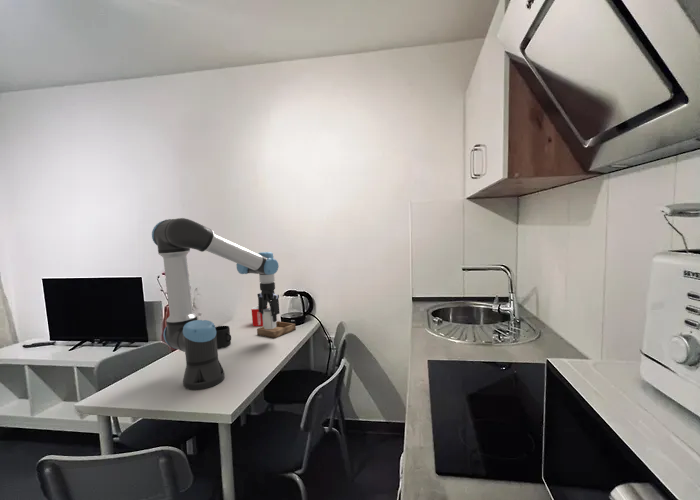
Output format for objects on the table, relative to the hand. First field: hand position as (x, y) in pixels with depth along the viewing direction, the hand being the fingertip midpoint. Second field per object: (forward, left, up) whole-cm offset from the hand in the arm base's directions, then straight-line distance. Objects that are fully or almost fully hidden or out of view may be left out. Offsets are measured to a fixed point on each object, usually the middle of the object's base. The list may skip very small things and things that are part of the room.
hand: (269, 326), depth 180 cm
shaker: (0, 0, 0) cm, 0 cm away
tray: (+14, +10, -8) cm, 19 cm away
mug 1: (-14, +20, -8) cm, 26 cm away
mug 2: (+22, +30, -8) cm, 38 cm away
